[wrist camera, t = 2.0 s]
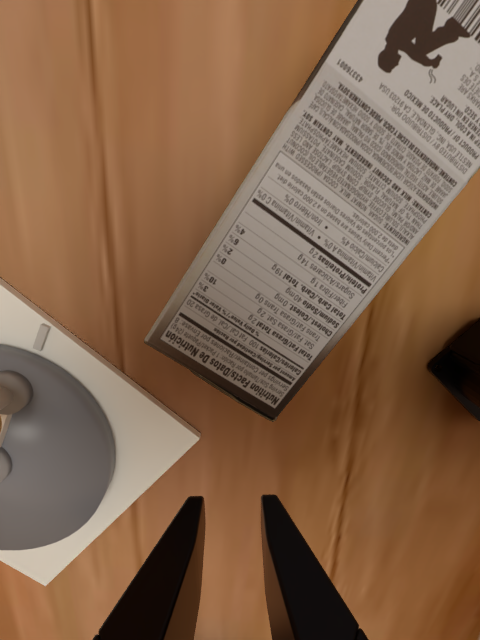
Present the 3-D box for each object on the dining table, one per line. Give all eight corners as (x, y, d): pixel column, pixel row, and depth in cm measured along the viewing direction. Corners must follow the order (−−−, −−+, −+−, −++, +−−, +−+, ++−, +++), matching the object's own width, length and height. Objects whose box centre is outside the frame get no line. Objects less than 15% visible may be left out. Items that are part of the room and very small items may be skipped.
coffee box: (423, 127, 17) (260, 347, 21) (335, 51, 16) (180, 296, 20) (612, 23, 9) (276, 430, 12) (447, -156, 8) (135, 348, 11)
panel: (200, 433, 23) (199, 442, 22) (49, 578, 27) (42, 591, 26) (-43, 244, 19) (-59, 244, 18) (-179, 445, 23) (-198, 455, 22)
